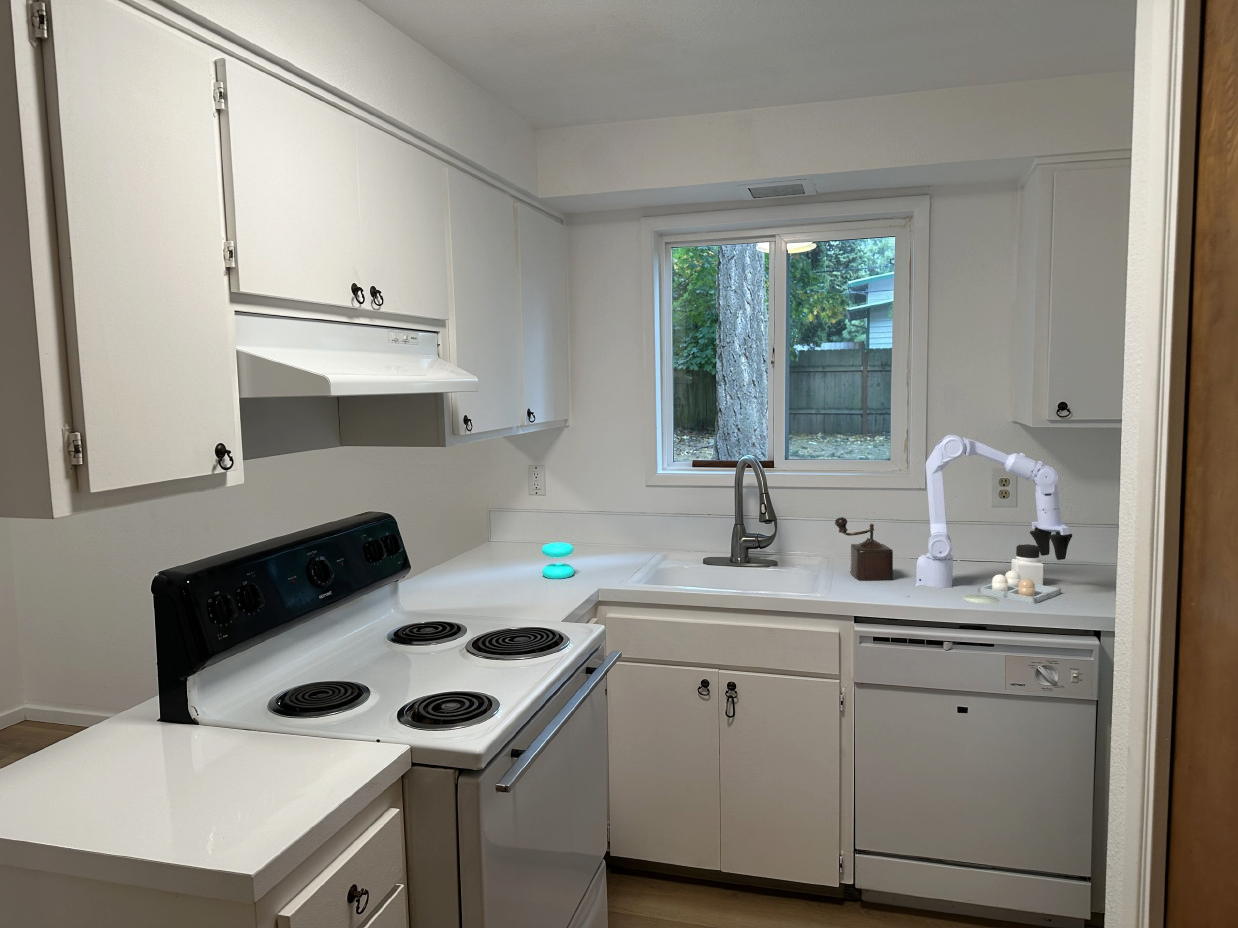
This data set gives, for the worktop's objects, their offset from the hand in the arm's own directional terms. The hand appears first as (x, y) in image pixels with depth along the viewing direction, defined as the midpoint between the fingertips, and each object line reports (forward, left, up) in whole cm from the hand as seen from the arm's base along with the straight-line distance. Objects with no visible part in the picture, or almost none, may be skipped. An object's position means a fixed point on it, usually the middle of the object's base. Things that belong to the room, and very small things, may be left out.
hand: (1052, 557), depth 240 cm
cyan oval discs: (-114, -86, -11) cm, 143 cm away
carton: (-5, -8, -10) cm, 14 cm away
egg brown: (-2, -12, -10) cm, 15 cm away
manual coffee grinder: (-48, -19, -11) cm, 53 cm away
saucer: (-9, -22, -10) cm, 26 cm away
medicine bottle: (-9, +5, -11) cm, 15 cm away
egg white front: (-9, -12, -10) cm, 18 cm away
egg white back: (-9, -4, -10) cm, 14 cm away
